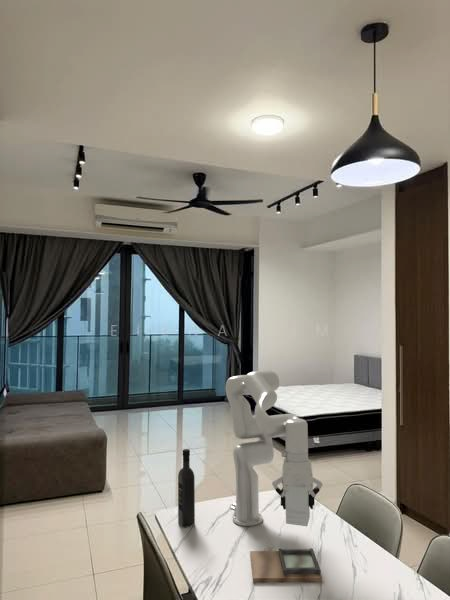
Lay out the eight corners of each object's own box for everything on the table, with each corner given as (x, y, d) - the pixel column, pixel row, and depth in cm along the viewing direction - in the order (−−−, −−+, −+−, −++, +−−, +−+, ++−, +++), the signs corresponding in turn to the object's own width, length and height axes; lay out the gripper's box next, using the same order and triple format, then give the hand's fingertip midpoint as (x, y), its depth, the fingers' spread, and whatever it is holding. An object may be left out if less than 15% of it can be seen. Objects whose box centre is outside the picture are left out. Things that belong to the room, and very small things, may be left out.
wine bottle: (183, 528, 171) (182, 453, 172) (177, 522, 176) (177, 449, 177) (195, 524, 174) (195, 450, 175) (189, 519, 178) (189, 447, 180)
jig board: (253, 583, 135) (252, 573, 135) (250, 555, 151) (250, 546, 151) (322, 582, 135) (321, 572, 135) (311, 554, 151) (311, 546, 151)
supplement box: (310, 517, 146) (309, 479, 147) (307, 527, 139) (306, 488, 140) (288, 514, 148) (288, 477, 149) (285, 524, 141) (284, 485, 142)
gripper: (272, 459, 141) (273, 512, 140) (324, 459, 141) (325, 512, 140) (270, 452, 148) (270, 503, 148) (319, 452, 148) (320, 502, 148)
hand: (297, 507), depth 144 cm, fingers closed on supplement box, 8 cm apart
